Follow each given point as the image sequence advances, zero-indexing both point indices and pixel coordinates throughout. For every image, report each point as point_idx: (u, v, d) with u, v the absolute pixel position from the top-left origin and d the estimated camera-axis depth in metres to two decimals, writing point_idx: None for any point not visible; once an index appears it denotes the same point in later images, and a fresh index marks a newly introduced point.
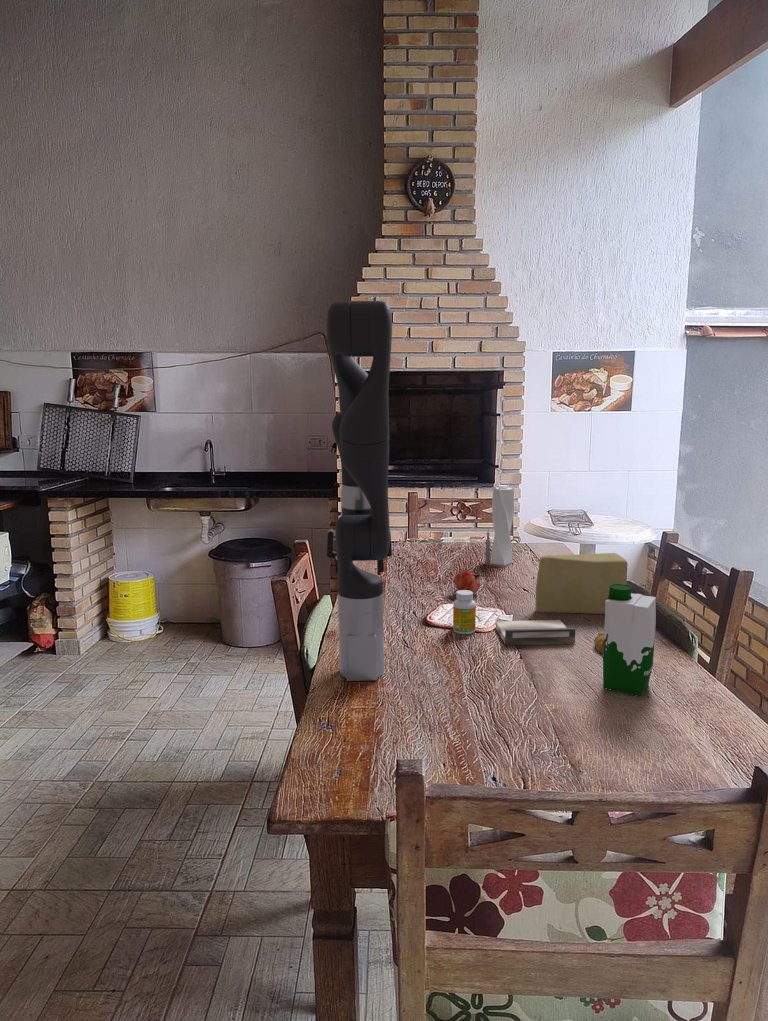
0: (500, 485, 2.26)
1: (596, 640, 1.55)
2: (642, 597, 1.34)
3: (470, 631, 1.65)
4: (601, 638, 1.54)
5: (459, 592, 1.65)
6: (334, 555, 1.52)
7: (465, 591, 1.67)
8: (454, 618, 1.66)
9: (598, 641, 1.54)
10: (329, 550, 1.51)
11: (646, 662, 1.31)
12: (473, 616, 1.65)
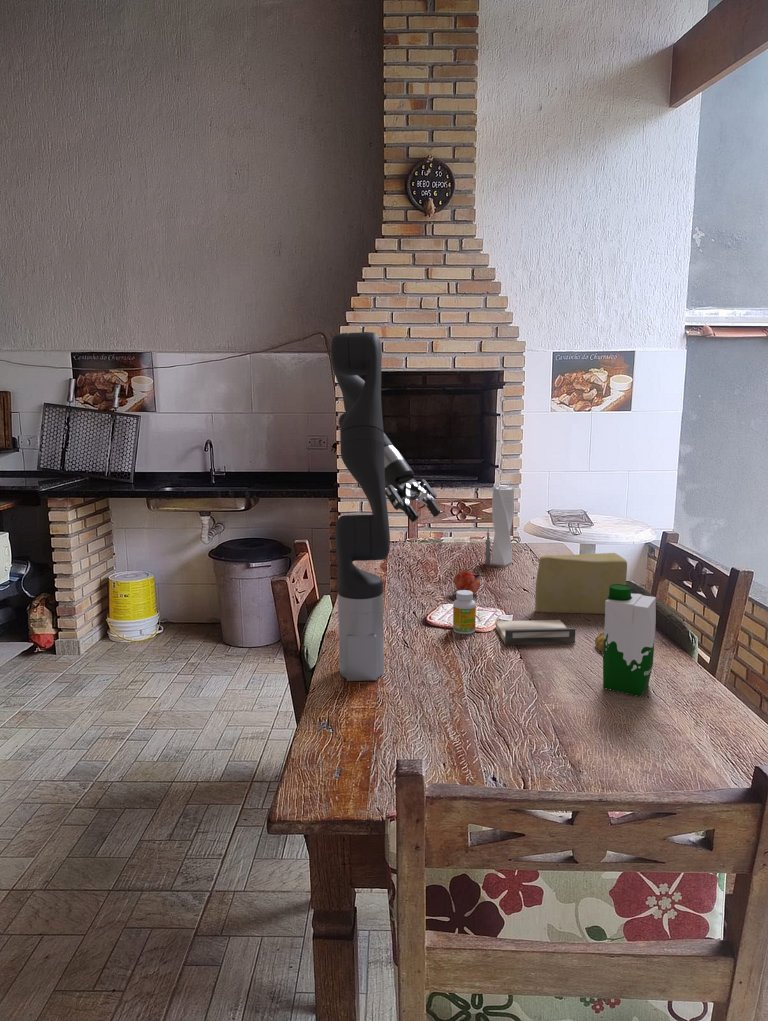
0: (500, 485, 2.26)
1: (597, 640, 1.56)
2: (642, 597, 1.34)
3: (470, 631, 1.65)
4: (602, 638, 1.54)
5: (458, 592, 1.65)
6: (403, 503, 1.68)
7: (465, 591, 1.67)
8: (454, 618, 1.66)
9: (599, 641, 1.54)
10: (398, 498, 1.67)
11: (646, 662, 1.31)
12: (473, 616, 1.65)
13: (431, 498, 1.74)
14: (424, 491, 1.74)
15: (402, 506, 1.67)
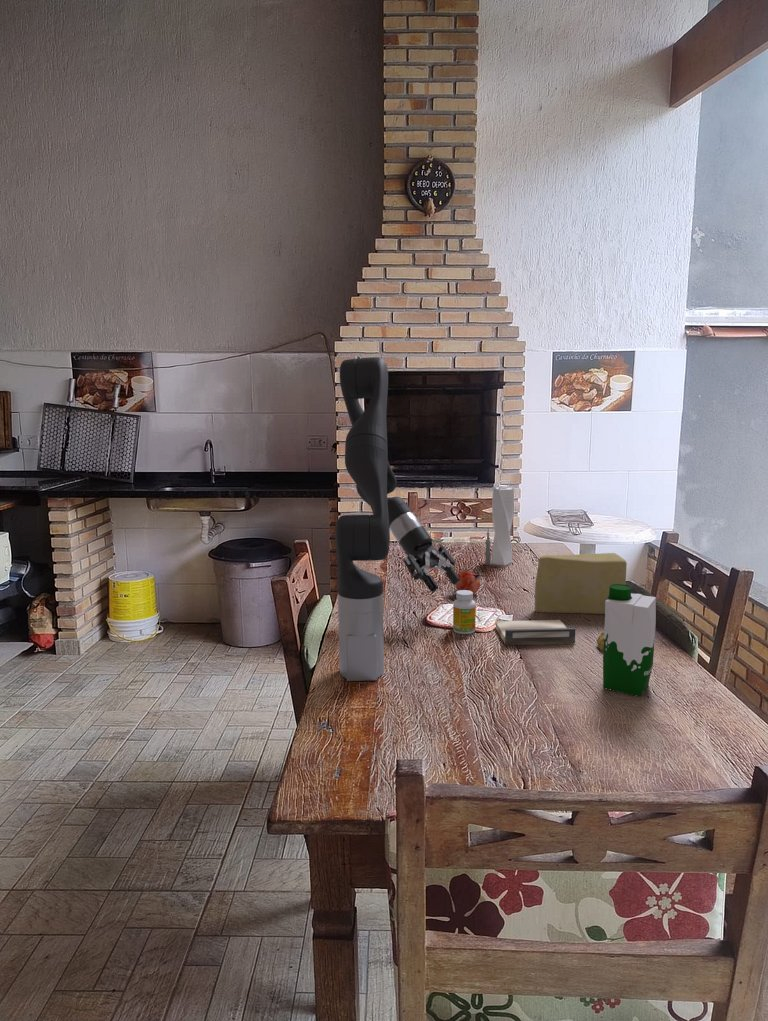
0: (500, 485, 2.26)
1: (599, 640, 1.56)
2: (642, 597, 1.34)
3: (470, 631, 1.65)
4: None
5: (458, 592, 1.65)
6: (423, 573, 1.67)
7: (465, 591, 1.67)
8: (454, 618, 1.66)
9: (601, 641, 1.54)
10: (418, 568, 1.66)
11: (646, 662, 1.31)
12: (473, 616, 1.65)
13: (450, 565, 1.73)
14: (443, 559, 1.73)
15: (422, 576, 1.66)
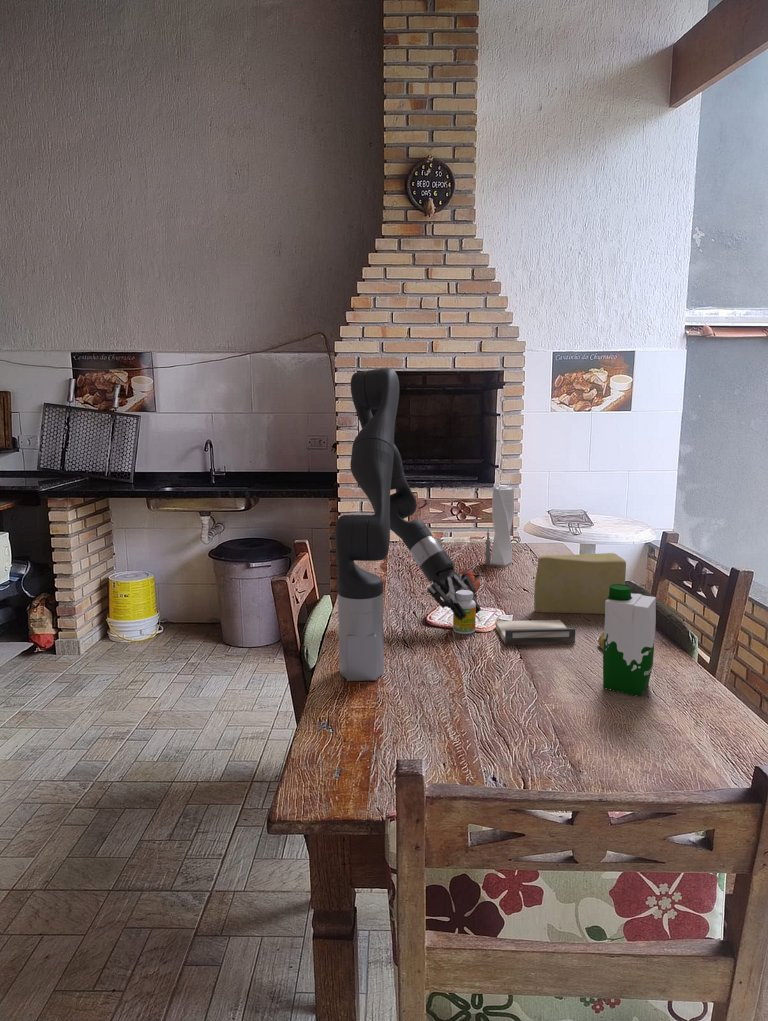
0: (500, 485, 2.26)
1: (600, 639, 1.56)
2: (642, 597, 1.34)
3: (470, 631, 1.65)
4: None
5: (458, 592, 1.65)
6: (450, 601, 1.64)
7: (465, 591, 1.66)
8: (454, 618, 1.66)
9: (603, 640, 1.55)
10: (445, 596, 1.63)
11: (646, 662, 1.31)
12: (473, 616, 1.65)
13: None
14: (464, 586, 1.69)
15: (449, 604, 1.63)
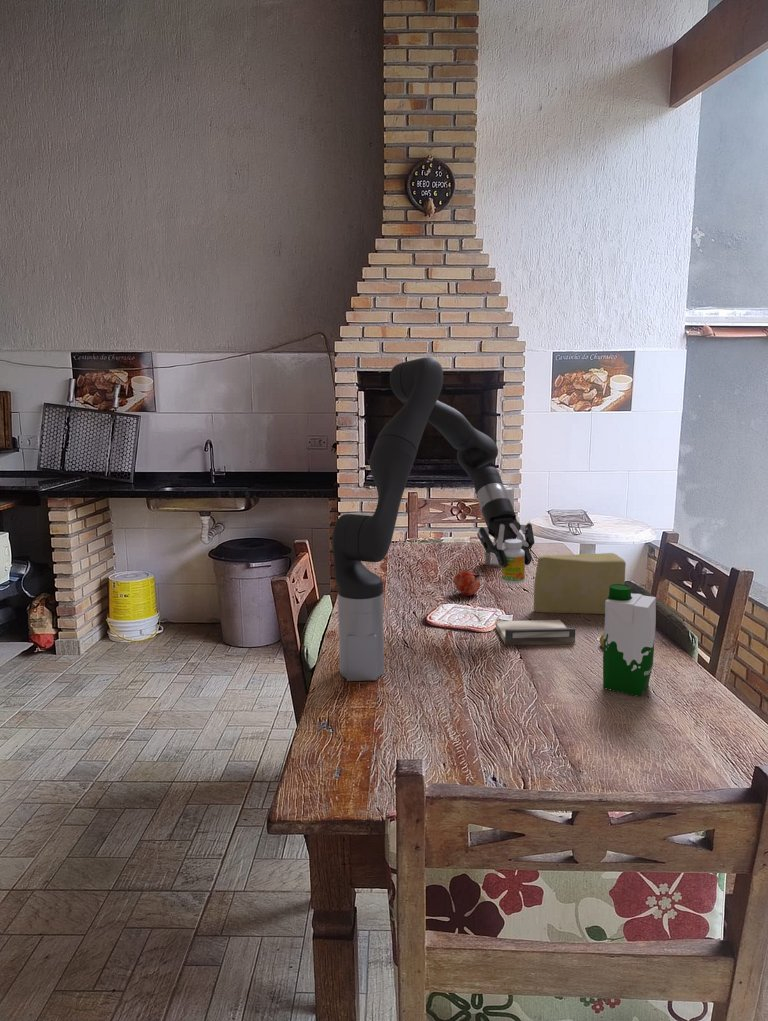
0: None
1: (602, 639, 1.56)
2: (642, 597, 1.34)
3: (514, 580, 1.62)
4: None
5: (506, 540, 1.63)
6: (495, 548, 1.63)
7: (515, 540, 1.63)
8: None
9: None
10: (489, 542, 1.63)
11: (646, 662, 1.31)
12: (518, 566, 1.62)
13: (525, 545, 1.64)
14: (519, 535, 1.65)
15: (493, 550, 1.63)
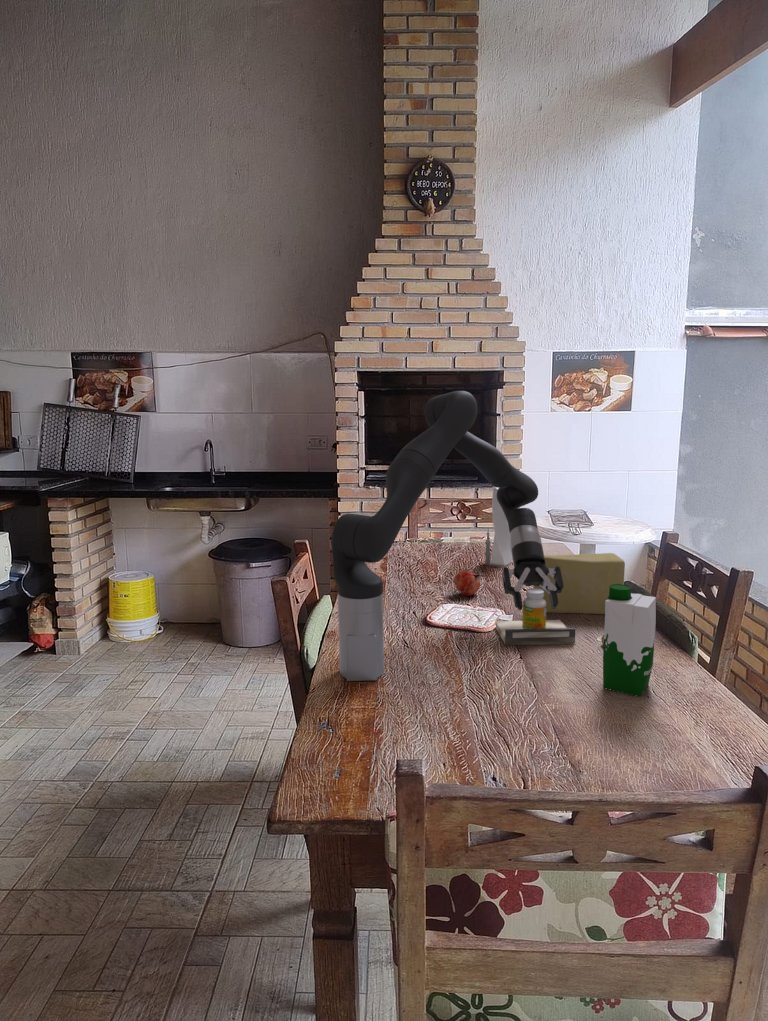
0: None
1: None
2: (642, 597, 1.34)
3: None
4: None
5: (528, 589, 1.62)
6: (512, 589, 1.62)
7: (537, 590, 1.62)
8: None
9: None
10: (507, 582, 1.63)
11: (646, 662, 1.31)
12: (537, 616, 1.60)
13: (552, 589, 1.62)
14: (546, 579, 1.63)
15: (510, 591, 1.62)
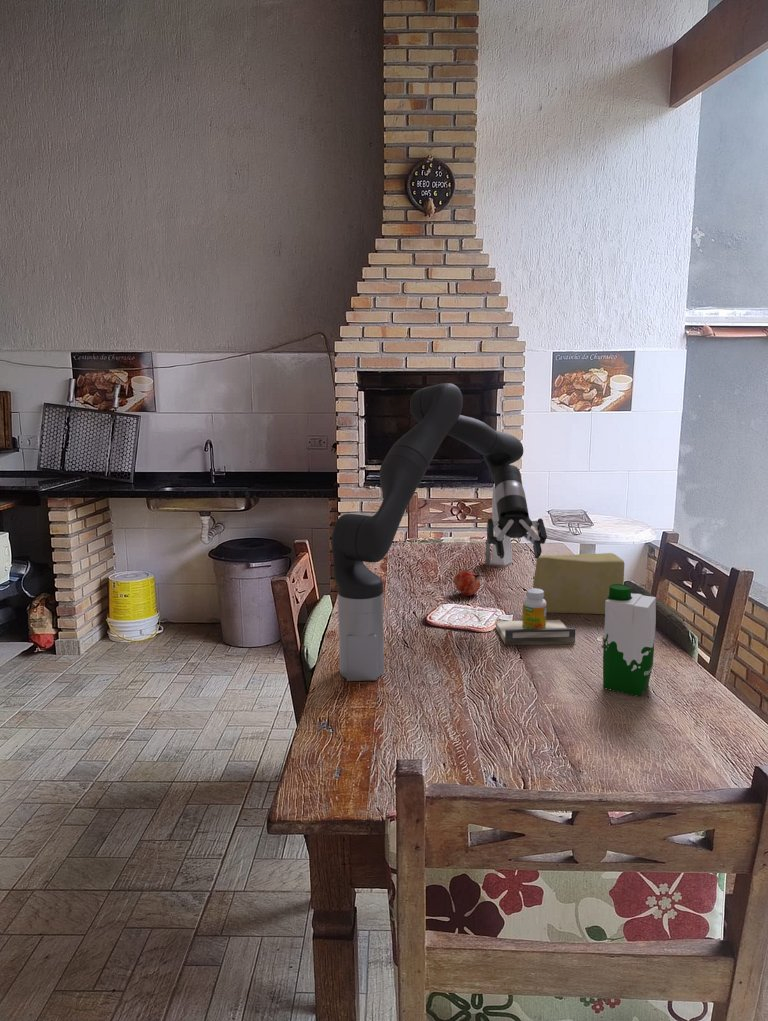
0: None
1: None
2: (642, 597, 1.34)
3: None
4: None
5: (528, 589, 1.62)
6: (495, 538, 1.68)
7: (537, 590, 1.62)
8: None
9: None
10: (490, 532, 1.68)
11: (646, 662, 1.31)
12: (537, 616, 1.60)
13: (536, 538, 1.68)
14: (530, 530, 1.69)
15: (493, 541, 1.68)
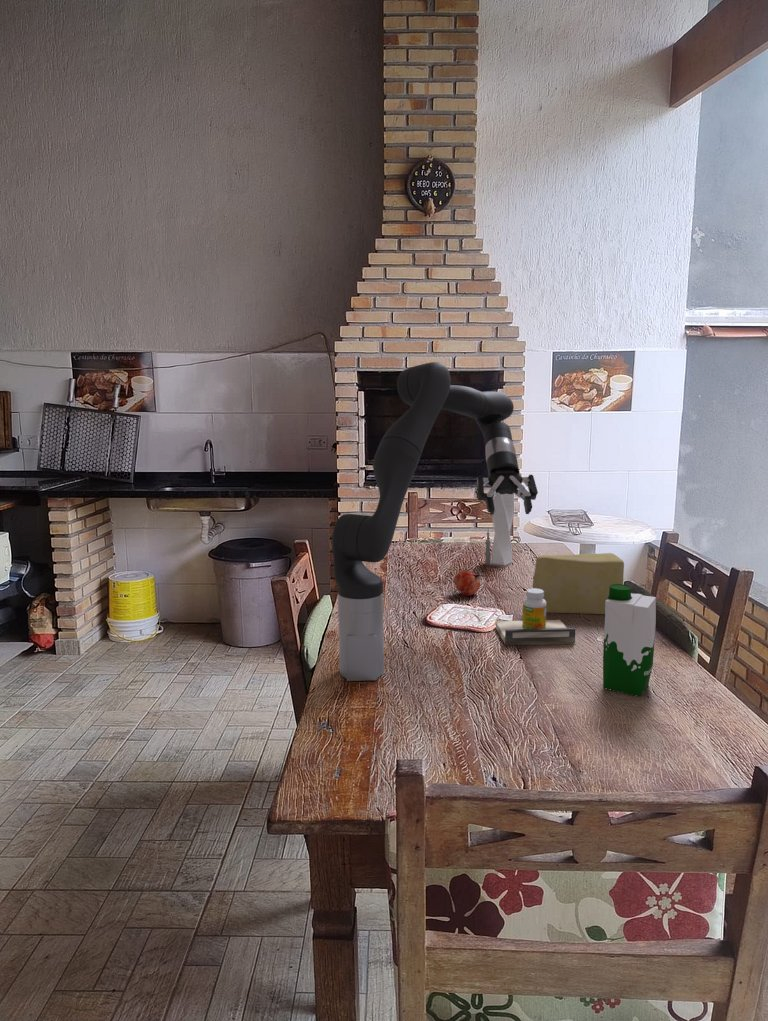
0: None
1: None
2: (642, 597, 1.34)
3: None
4: None
5: (528, 589, 1.62)
6: (485, 494, 1.66)
7: (537, 590, 1.62)
8: None
9: None
10: (480, 489, 1.67)
11: (646, 662, 1.31)
12: (537, 616, 1.60)
13: (527, 494, 1.66)
14: (520, 486, 1.67)
15: (483, 497, 1.66)
